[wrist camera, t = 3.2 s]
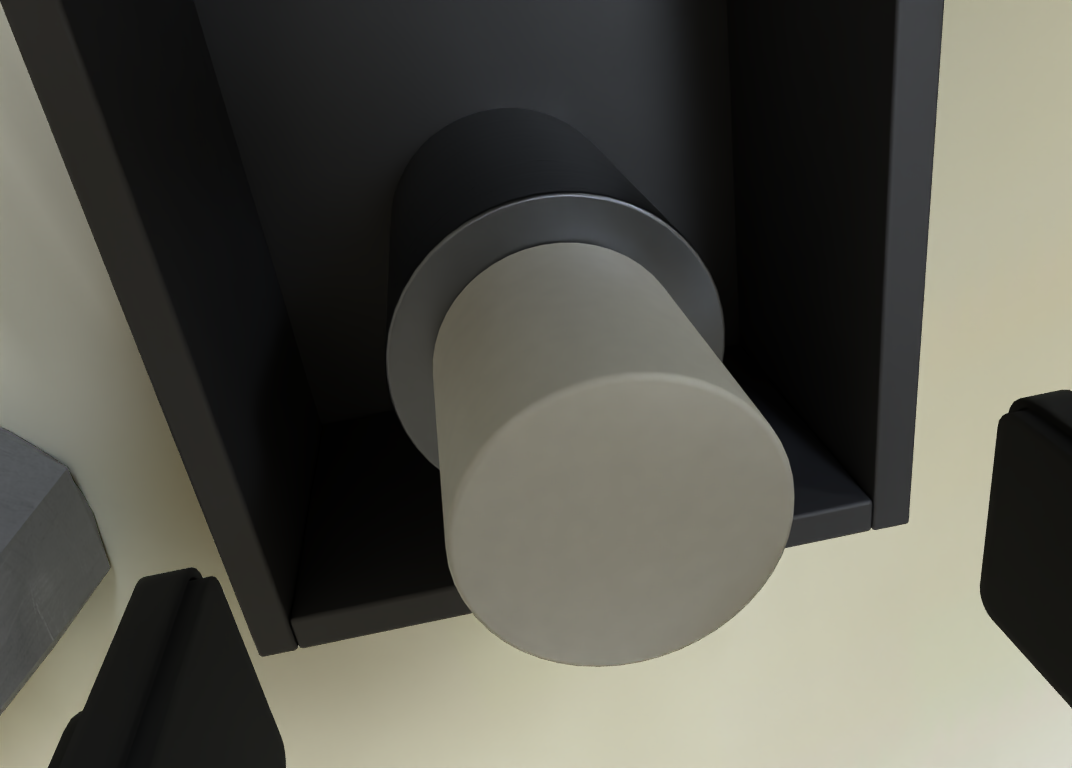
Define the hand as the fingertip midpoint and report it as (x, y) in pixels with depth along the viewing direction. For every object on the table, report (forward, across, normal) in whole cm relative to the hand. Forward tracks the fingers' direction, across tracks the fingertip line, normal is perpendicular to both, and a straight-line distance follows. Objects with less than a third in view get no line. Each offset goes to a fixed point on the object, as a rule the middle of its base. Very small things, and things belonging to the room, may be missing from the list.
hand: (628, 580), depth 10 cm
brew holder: (+14, 0, 0) cm, 15 cm away
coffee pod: (+6, 0, 0) cm, 6 cm away
